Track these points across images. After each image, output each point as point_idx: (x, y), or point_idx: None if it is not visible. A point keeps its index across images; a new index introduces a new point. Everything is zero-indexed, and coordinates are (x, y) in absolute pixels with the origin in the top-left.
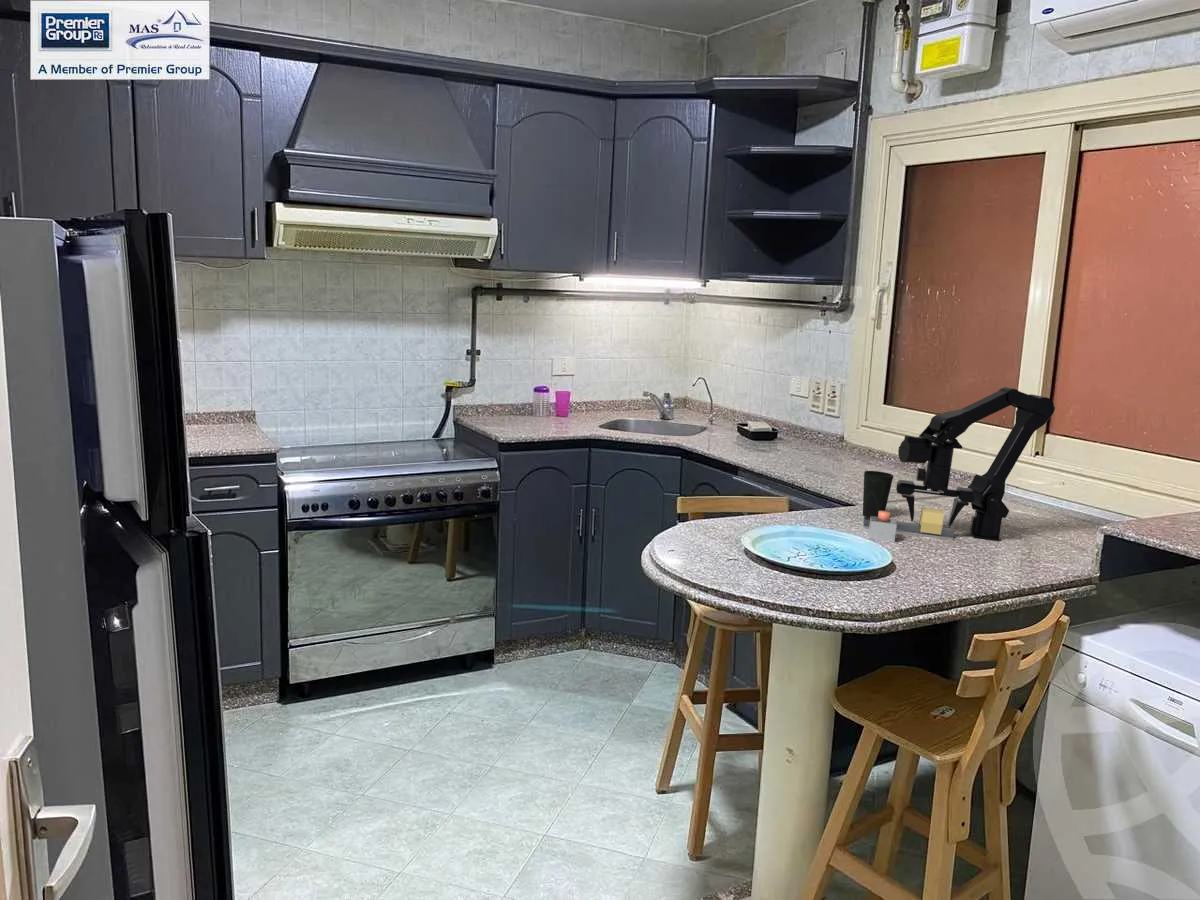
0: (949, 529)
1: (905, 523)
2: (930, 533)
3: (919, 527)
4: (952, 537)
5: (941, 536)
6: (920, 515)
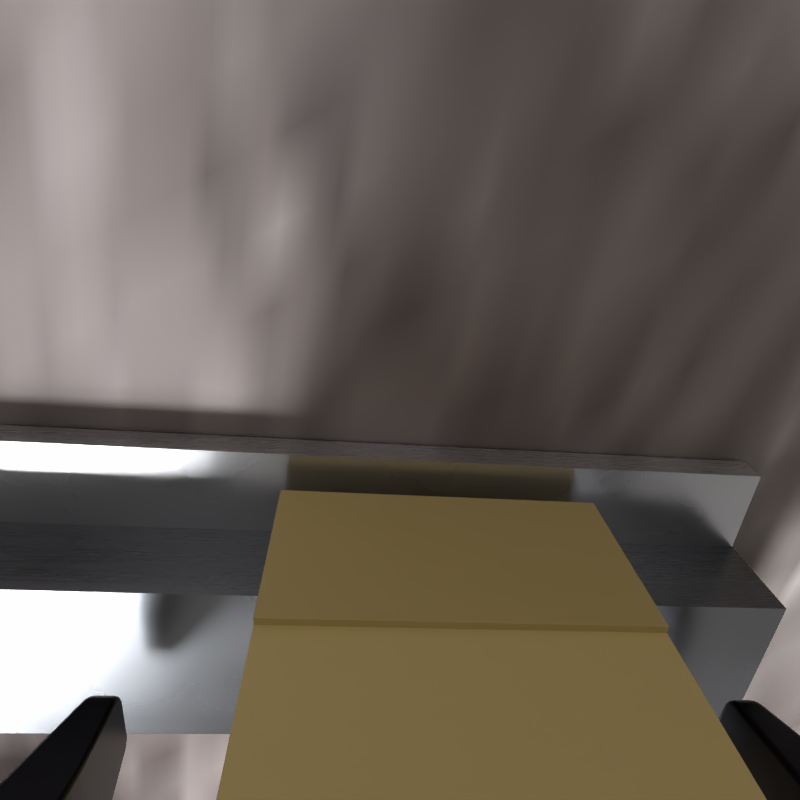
0: (704, 684)
1: (26, 661)
2: None
3: None
4: None
5: None
6: (243, 696)
